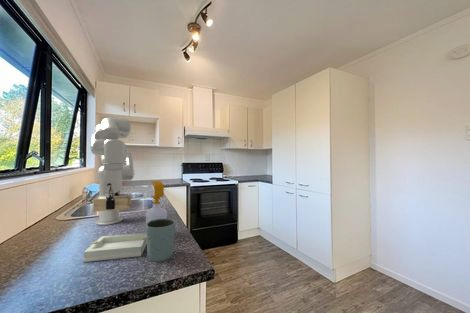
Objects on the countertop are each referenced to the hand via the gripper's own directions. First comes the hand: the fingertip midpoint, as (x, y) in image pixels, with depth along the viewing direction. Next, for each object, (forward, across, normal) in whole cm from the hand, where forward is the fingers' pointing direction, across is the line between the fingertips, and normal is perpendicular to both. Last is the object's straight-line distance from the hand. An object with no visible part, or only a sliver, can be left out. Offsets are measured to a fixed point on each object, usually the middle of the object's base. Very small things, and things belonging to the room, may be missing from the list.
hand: (113, 206), depth 89 cm
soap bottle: (+13, +2, +19) cm, 23 cm away
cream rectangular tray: (+13, +15, +7) cm, 21 cm away
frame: (+1, 0, 0) cm, 1 cm away
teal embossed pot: (+13, +24, +23) cm, 36 cm away
